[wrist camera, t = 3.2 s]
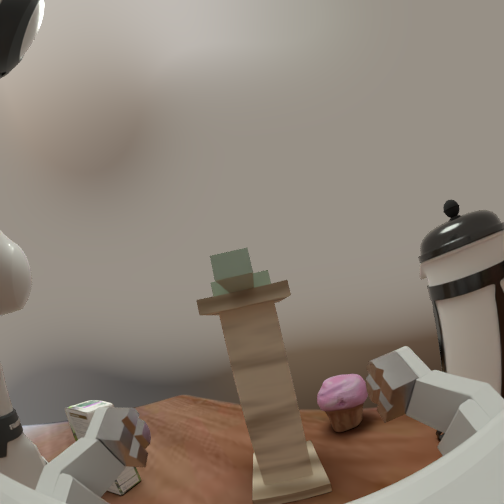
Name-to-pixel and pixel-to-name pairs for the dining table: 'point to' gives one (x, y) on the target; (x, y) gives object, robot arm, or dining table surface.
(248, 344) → the stand
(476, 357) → the coffee press
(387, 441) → the dining table surface
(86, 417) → the syrup box
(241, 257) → the spatula
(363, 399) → the cupcake
